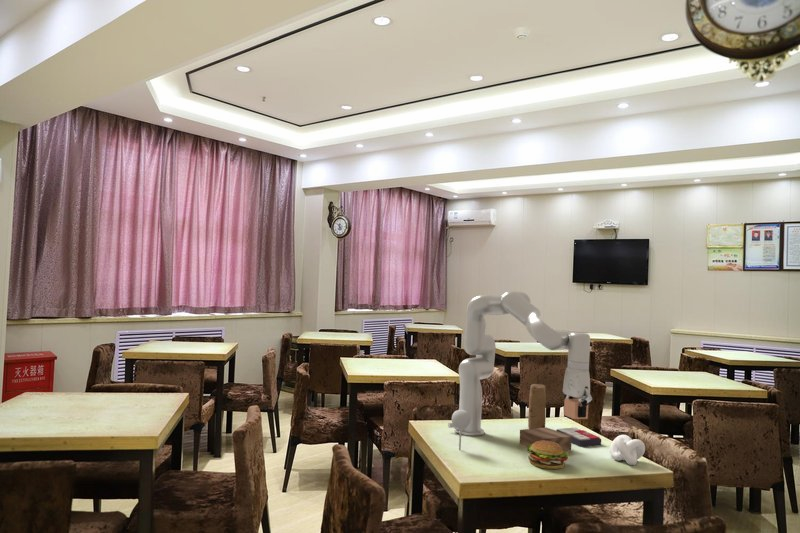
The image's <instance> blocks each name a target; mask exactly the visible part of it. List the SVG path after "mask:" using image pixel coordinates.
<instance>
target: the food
mask: <svg viewBox="0 0 800 533" xmlns="http://www.w3.org/2000/svg"><path fill="white" fill-rule="evenodd" d="M569 452H570V451H567V452H565V451H563V448H562V447H561V446H560V445H559V444H557V443H555V442H551V441H545V440H543V441H536V442H535V443H533V444H532V445H531V444H530V445H529V447H528V448H527V454H529V453H530V455H528V456H527V457H528V460H529V463H530V464H531V465H533V466H535V467H538V468H541V469H546V470H559V469H562V468H564V465H565V461H568V460H569V456H570V453H569Z"/></svg>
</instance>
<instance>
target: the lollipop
mask: <svg viewBox="0 0 800 533" xmlns="http://www.w3.org/2000/svg"><path fill="white" fill-rule="evenodd" d="M451 423H453V425H454V426H455V427H456V428H458V429H460V433H458V434H459V436H458V439H459V440H458V450H459V451H461V448H462V445H461V444H462V434H461V429H464V428H466V427H468V425H469V424H470V415H469V414H468V412H466V411H465V410H459V409H457V410H455V411H454V412H453V413H452V414H451Z"/></svg>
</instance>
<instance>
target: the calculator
mask: <svg viewBox="0 0 800 533" xmlns="http://www.w3.org/2000/svg"><path fill="white" fill-rule="evenodd" d="M556 431H558V432H561V433H564V434H567V435H569V436H572V444H571V445H575V446H577V447H580V448H585V447H587V448H588V447H597V446H602V438H601V437H600V436H598V435H596V434H593V433H591V432H588V431H586V430H584V429H581V428H579V427H567V428H566V427H565V428H557V429H556Z"/></svg>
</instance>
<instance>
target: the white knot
mask: <svg viewBox="0 0 800 533" xmlns="http://www.w3.org/2000/svg"><path fill="white" fill-rule="evenodd" d="M645 445H646V444H645V443H644V442H643V441H642V440H641V439H638V438H637V439H634V438H633V439H632V437H630V436H629V435H627V434H620V435H618V436H616V437H615V438H614V439H613V440H612V442H611V444H610V447H609V454H610V457H611V458H612V459H613V460H614V461H616V462H622V461H623V460H625V462H626V463H627V464H628V465H630V466H635V465H636V464H637V463H638V460H640V458H642V456H643V455H644V454H645V451H646V446H645Z"/></svg>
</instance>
